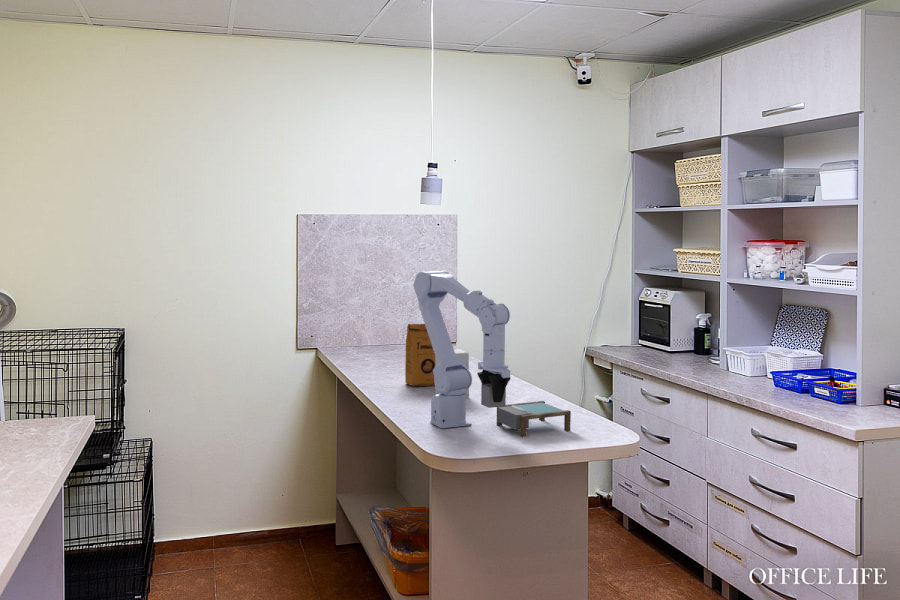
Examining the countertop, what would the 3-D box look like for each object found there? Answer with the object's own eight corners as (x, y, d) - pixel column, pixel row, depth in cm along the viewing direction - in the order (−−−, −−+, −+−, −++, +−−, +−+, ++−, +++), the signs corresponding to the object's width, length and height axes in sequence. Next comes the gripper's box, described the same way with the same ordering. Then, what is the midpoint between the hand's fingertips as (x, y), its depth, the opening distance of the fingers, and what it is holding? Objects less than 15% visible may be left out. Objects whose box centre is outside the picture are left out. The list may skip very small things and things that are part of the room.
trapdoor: (516, 430, 211) (517, 415, 211) (496, 421, 221) (497, 407, 221) (564, 424, 218) (564, 410, 218) (542, 415, 228) (542, 402, 227)
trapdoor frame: (522, 436, 211) (522, 416, 210) (496, 424, 223) (496, 405, 223) (570, 430, 217) (570, 411, 217) (542, 419, 230) (542, 400, 229)
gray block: (488, 407, 209) (489, 387, 208) (481, 404, 213) (481, 384, 212) (505, 406, 211) (505, 385, 211) (497, 402, 215) (497, 382, 215)
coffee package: (444, 386, 277) (444, 324, 275) (409, 388, 273) (409, 325, 271) (436, 381, 286) (436, 320, 284) (403, 383, 283) (403, 321, 281)
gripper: (520, 352, 206) (520, 404, 207) (494, 345, 219) (493, 393, 220) (496, 354, 203) (496, 406, 204) (471, 346, 216) (471, 395, 217)
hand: (493, 400), depth 212 cm, fingers closed on gray block, 4 cm apart
